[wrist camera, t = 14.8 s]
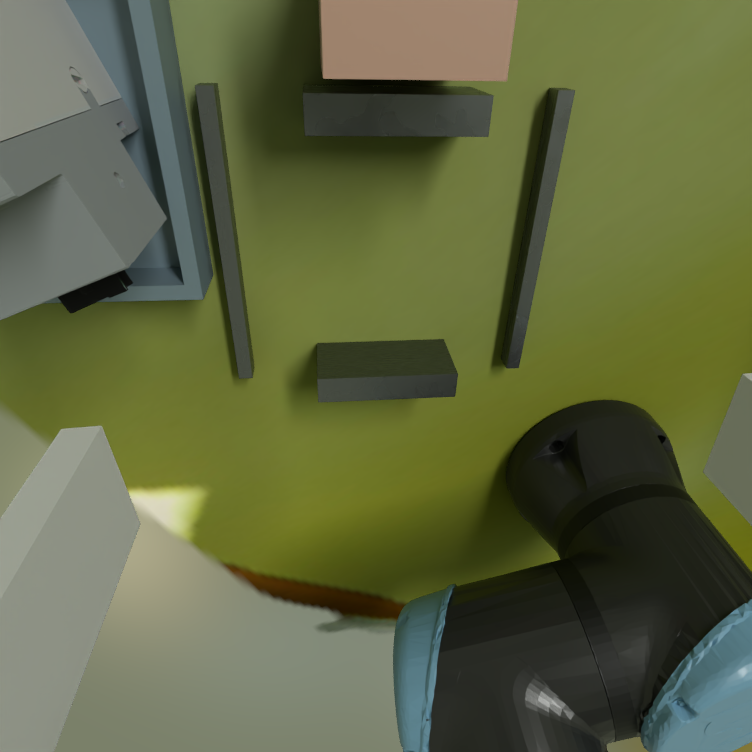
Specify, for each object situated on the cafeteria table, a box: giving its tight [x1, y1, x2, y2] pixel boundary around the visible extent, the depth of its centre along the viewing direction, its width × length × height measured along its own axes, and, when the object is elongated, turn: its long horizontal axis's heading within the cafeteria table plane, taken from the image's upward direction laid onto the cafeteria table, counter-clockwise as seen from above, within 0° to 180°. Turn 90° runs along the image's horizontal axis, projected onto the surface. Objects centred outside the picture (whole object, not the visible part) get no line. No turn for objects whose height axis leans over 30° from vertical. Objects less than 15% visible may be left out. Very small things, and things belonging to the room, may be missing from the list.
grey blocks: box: [195, 83, 575, 402], centre depth 35 cm, size 20×22×5 cm
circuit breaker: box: [0, 0, 167, 320], centre depth 24 cm, size 8×14×15 cm, turn 20°
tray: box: [44, 0, 213, 303], centre depth 29 cm, size 20×14×4 cm
